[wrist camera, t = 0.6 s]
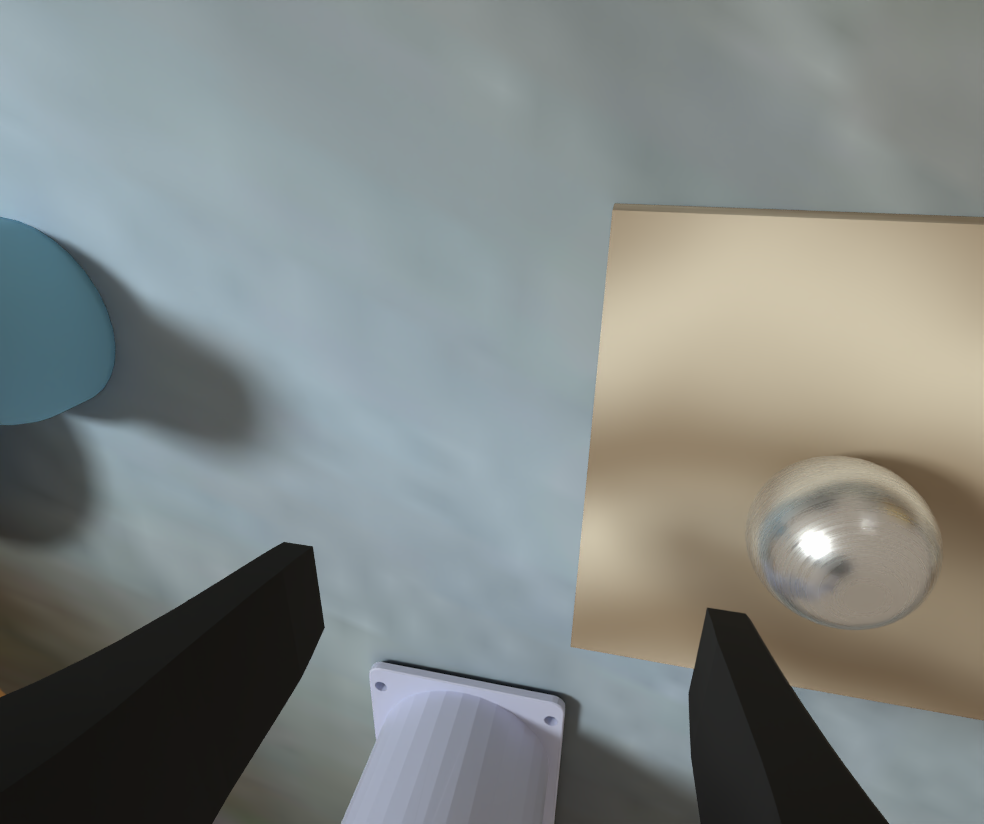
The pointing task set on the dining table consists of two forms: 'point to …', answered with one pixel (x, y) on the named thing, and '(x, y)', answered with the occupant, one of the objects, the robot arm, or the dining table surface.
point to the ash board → (784, 430)
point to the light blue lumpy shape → (48, 328)
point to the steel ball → (844, 542)
